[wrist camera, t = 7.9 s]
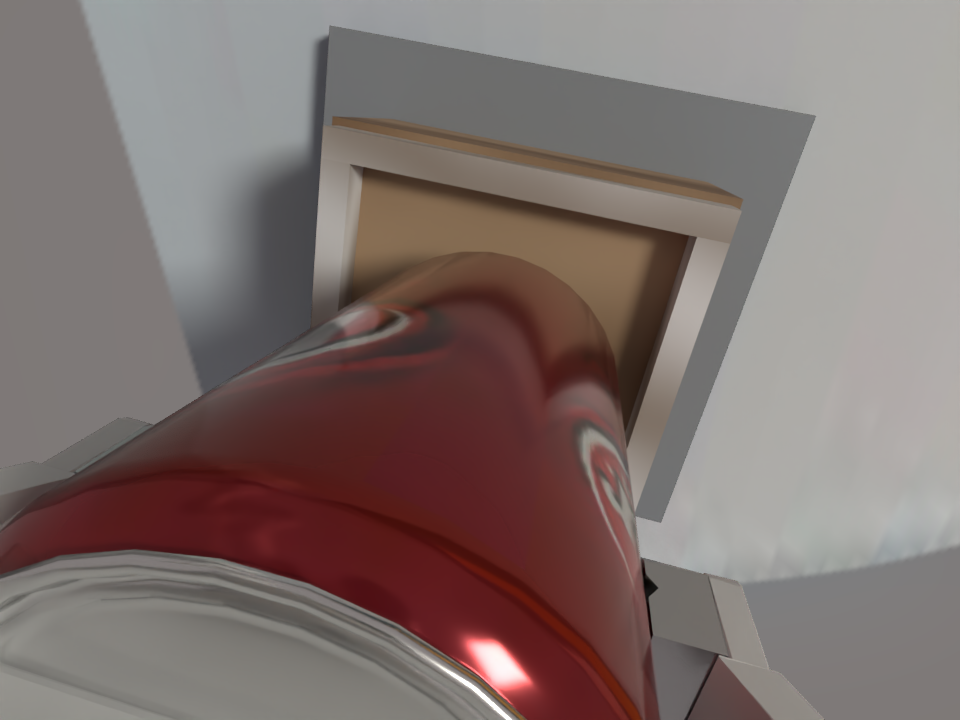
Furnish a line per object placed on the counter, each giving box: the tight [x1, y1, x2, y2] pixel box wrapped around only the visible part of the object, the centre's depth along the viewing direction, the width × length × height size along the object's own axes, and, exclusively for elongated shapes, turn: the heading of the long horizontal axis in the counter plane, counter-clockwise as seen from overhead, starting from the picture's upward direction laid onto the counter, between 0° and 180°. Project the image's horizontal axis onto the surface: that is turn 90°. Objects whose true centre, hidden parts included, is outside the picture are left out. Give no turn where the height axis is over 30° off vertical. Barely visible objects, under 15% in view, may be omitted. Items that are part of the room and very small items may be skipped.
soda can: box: [0, 252, 661, 720], centre depth 11 cm, size 7×7×12 cm
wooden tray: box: [310, 116, 743, 510], centre depth 19 cm, size 11×11×6 cm
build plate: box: [323, 26, 816, 523], centre depth 22 cm, size 16×16×1 cm
